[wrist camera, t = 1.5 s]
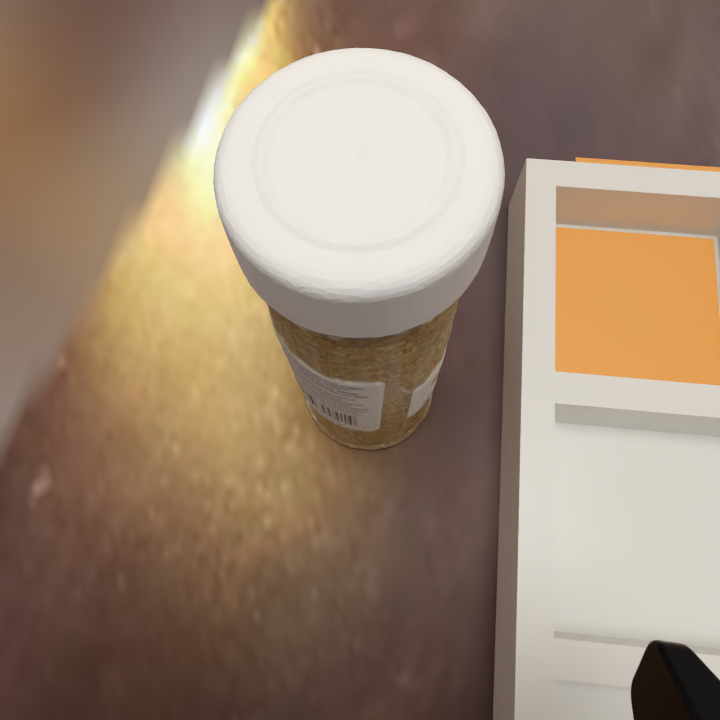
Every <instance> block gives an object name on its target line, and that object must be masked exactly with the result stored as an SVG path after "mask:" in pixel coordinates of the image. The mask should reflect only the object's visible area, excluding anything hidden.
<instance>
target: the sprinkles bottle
mask: <svg viewBox="0 0 720 720" xmlns="http://www.w3.org/2000/svg"><path fill="white" fill-rule="evenodd" d="M504 181H505V169H504V159H503V153H502V149H501V145H500V141H499V138H498V135H497V132H496V129H495V127H494V126H493V124H492V121H491V119H490V118H489V116H488V114H487V113H486V111H485V110H484V108H483V107H482V106H481V104H480V103H479V102H478V101H477V99H476V98H475V97H474V95H473V94H472V93H471V92H470V91H469V90H467V89H466V88H465V87H464V86H463V85H462V84H461V83H460V82H459V81H457V80H456V79H455V78H453V77H452V76H450V75H449V74H448V73H446V72H445V71H443V70H441V69H440V68H438V67H436V66H435V65H433V64H431V63H429V62H426V61H424V60H421V59H419V58H416V57H413V56H411V55H407V54H404V53H400V52H394V51H389V50H382V49H372V48H349V49H340V50H333V51H327V52H323V53H318V54H314V55H311V56H308V57H305V58H303V59H301V60H298V61H296V62H293V63H292V64H290V65H288V66H286V67H284V68H282V69H280V70H279V71H277V72H275V73H274V74H272V75H271V76H269V77H268V78H267V79H265V80H264V81H263V82H261V83H260V84H259V85H258V86H257V87H256V88H254V89H253V90H252V91H251V92H250V93H249V94H248V95H247V96H246V97H245V98H244V100H243V101H242V102H241V104H240V105H239V106H238V107H237V109H236V110H235V112H234V113H233V115H232V116H231V118H230V120H229V122H228V123H227V125H226V127H225V129H224V132H223V134H222V137H221V140H220V143H219V145H218V149H217V154H216V158H215V163H214V191H215V198H216V204H217V208H218V212H219V215H220V218H221V221H222V224H223V227H224V229H225V232H226V235H227V237H228V240H229V242H230V245H231V247H232V249H233V252H234V254H235V256H236V258H237V261H238V263H239V265H240V267H241V269H242V271H243V273H244V275H245V276H246V278H247V280H248V282H249V283H250V285H251V286H252V287H253V289H254V290H255V291H256V292H257V294H258V295H259V296H260V297H261V298H262V299H263V300H264V301H265V302H266V303H267V305H268V307H269V312H270V317H271V321H272V324H273V327H274V330H275V332H276V335H277V337H278V339H279V341H280V343H281V345H282V348H283V350H284V352H285V354H286V356H287V359H288V361H289V363H290V365H291V368H292V370H293V372H294V374H295V377H296V379H297V381H298V383H299V386H300V388H301V390H302V392H303V394H304V397H305V402H306V405H307V408H308V411H309V413H310V415H311V416H312V418H313V419H314V421H315V423H316V424H317V426H319V427H320V428H321V430H322V431H323V432H324V433H325V434H326V435H327V436H328V437H330V438H331V439H332V440H334V441H337V442H338V443H340V444H342V445H345V446H347V447H350V448H356V449H366V450H375V449H383V448H387V447H391V446H394V445H396V444H398V443H400V442H401V441H403V440H404V439H406V438H407V437H408V436H410V435H411V434H412V433H413V432H414V431H415V430H416V429H417V427H418V426H419V425H420V424H421V423H422V421H423V420H424V418H425V417H426V415H427V413H428V411H429V408H430V405H431V400H432V396H433V389H434V386H435V384H436V381H437V377H438V374H439V371H440V368H441V365H442V362H443V359H444V355H445V352H446V347H447V342H448V338H449V336H450V332H451V328H452V323H453V318H454V316H455V312H456V309H457V305H458V301H459V298H460V296H461V295H462V294H463V293H464V291H465V290H466V289H467V288H468V287H469V285H470V283H471V282H472V280H473V279H474V277H475V276H476V274H477V273H478V271H479V269H480V267H481V264H482V262H483V260H484V257H485V255H486V252H487V249H488V246H489V243H490V240H491V237H492V234H493V231H494V227H495V224H496V221H497V217H498V214H499V210H500V206H501V201H502V196H503V190H504Z"/></svg>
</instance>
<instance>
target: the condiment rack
mask: <svg viewBox="0 0 720 720" xmlns="http://www.w3.org/2000/svg"><path fill="white" fill-rule="evenodd" d="M653 640H662V641H669V642H676V643H681V644H684V645H686V646H688V647H689V648H690V649H691V650H692V651H694V653H695V654H696V655H697V656H698V657H699V658H700V659H701V660H702V661H703V662H704V663H705V665H706V666H707V667H708V668H709V669H710V670H711V671H712V672H713V673H714V674H715V675H716V676H717V678H718V679H719V680H720V167H706V166H691V165H677V164H663V163H649V162H634V161H620V160H606V159H592V158H578V157H576V158H575V160H574V162H571V161H556V160H542V159H528V158H526V161H525V164H524V166H523V169H522V171H521V174H520V177H519V179H518V182H517V185H516V187H515V190H514V192H513V195H512V198H511V200H510V203H509V206H508V238H507V271H506V303H505V336H504V369H503V401H502V434H501V467H500V499H499V532H498V564H497V597H496V630H495V662H494V695H493V720H634V718H633V711H632V704H631V684H632V680H633V677H634V675H635V673H636V670H637V668H638V666H639V663H640V661H641V659H642V656H643V654H644V652H645V650H646V647H647V646H648V644H649V643H650V642H651V641H653Z"/></svg>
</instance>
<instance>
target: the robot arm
mask: <svg viewBox="0 0 720 720" xmlns="http://www.w3.org/2000/svg"><path fill="white" fill-rule="evenodd" d="M631 704H632V711H633V718H634V720H720V680H719V679H718V678H717V676H716V675H715V674H714V673H713V672H712V671H711V670H710V669H709V668H708V667H707V666H706V665H705V663H704V662H703V661H702V660H701V659H700V658H699V657H698V656H697V655H696V654H695V653H694V651H692V650H691V649H690V648H689V647H688V646H686V645H684V644H681V643H676V642H669V641H662V640H653V641H651V642H650V643H649V644H648V646H647V647H646V650H645V652H644V654H643V656H642V659H641V661H640V663H639V666H638V668H637V670H636V673H635V675H634V677H633V680H632V684H631Z"/></svg>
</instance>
